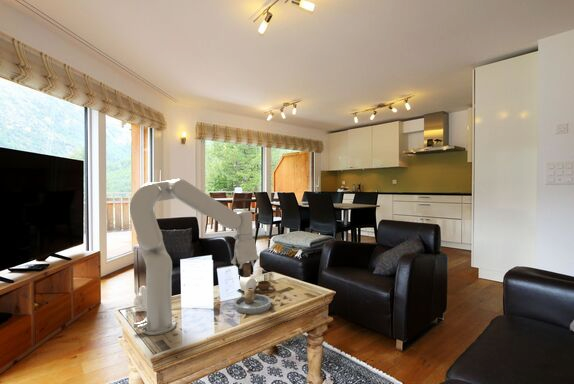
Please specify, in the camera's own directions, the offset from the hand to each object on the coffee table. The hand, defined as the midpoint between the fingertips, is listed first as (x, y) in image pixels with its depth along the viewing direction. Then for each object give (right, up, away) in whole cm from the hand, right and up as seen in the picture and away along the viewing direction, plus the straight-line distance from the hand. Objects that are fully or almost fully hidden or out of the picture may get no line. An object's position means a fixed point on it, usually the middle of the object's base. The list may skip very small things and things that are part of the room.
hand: (246, 274), depth 138 cm
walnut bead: (0, -1, 0) cm, 1 cm away
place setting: (+3, -17, +24) cm, 29 cm away
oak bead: (+1, -16, +6) cm, 17 cm away
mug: (-3, -16, +27) cm, 32 cm away
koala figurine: (-49, -17, -1) cm, 52 cm away
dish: (+3, -16, +3) cm, 17 cm away
